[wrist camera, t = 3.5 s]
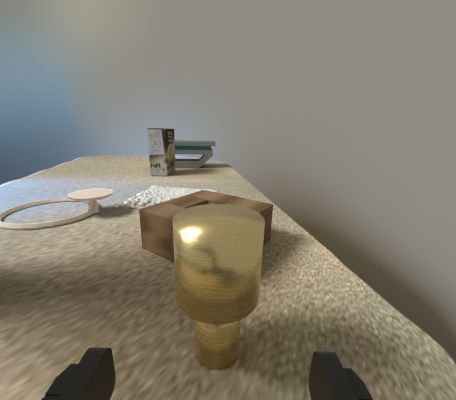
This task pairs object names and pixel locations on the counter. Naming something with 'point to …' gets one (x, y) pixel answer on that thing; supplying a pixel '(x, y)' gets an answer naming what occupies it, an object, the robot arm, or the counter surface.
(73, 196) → the hand towel holder
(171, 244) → the walnut block
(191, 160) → the grey slotted bar
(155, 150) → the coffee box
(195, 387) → the counter surface
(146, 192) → the salt crystals
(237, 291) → the brass pin
